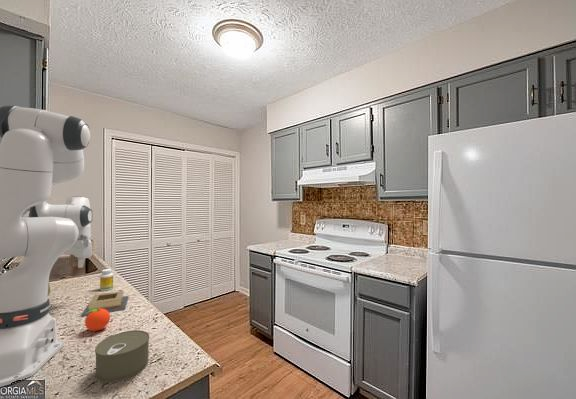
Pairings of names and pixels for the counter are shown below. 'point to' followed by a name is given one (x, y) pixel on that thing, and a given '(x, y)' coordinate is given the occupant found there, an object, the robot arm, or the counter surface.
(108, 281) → the supplement bottle
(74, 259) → the peg
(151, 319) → the counter surface
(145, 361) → the can
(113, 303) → the collar
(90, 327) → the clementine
